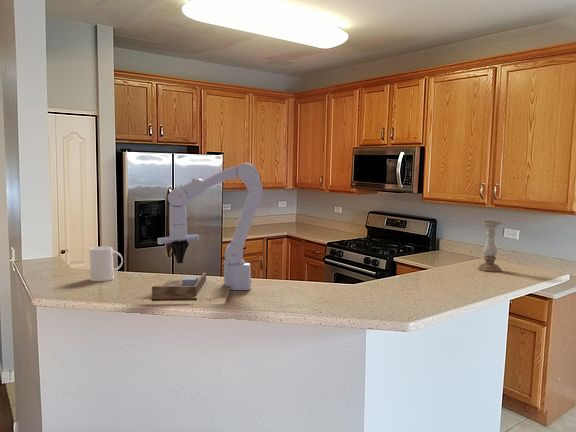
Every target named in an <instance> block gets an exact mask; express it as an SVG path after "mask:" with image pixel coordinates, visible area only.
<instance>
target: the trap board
mask: <svg viewBox="0 0 576 432" xmlns="http://www.w3.org/2000/svg"><path fill="white" fill-rule="evenodd" d="M206 282H207V272H206V271H205V272H202V274H201V275H200V277H198V281H197V282H196V284H195V285H194V286H182V280H166V282H165V283H164V284H163V285H161V286H159V285H157V286H156V285H155V286H151V296H152V297H154V298H151V300H152V302H184V301H185V302H188V301H189V302H190V301H194V302H195V301H197V300H198V299H197V298H198V297H197V295H198V294H199V292H200V291H201V290H202V288H203V286H204V284H205V283H206ZM161 297H164V298H161ZM166 297H167V298H166ZM175 297H176V298H175ZM177 297H180V298H177Z"/></svg>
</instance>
